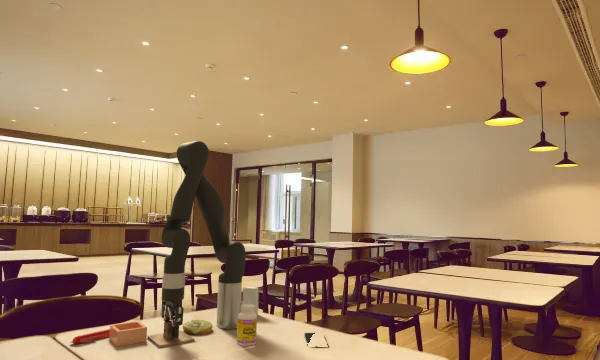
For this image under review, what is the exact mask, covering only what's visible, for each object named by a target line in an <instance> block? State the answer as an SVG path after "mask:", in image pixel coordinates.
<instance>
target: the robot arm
mask: <svg viewBox="0 0 600 360" xmlns="http://www.w3.org/2000/svg"><path fill="white" fill-rule="evenodd" d="M209 150H210V149H209V148H208V145H207V144H206V143H205V142H204V141H201V140H195V141H188V142H184V143H181V144H180V145H179V146H178V147H177V149H176V159H177V161H178V163H179V166H180V167H181V169H182V171H183V173H184V178H183V180H182V182H181V184H180V185H179V187H178V189H177V190H176V192H175V195H174V198H173V201H172V205H171V210H170V215H169V216H168V219H167V221H166V223H165V225H164V228H163V229H162V232H161V237H160V238H161V243H162V245H163V246H164V247H166V248H167V249H172V250H171V253H170V255H167V256H166V257H165V258H164V261H163V275H162V280H161V282H162V284H161V300H162V302H161V318H162V320H163V322H170V321H172V338H176V337H178V336H179V331H180V326H183V324H184V306H180V304H181V303H180V302H181V301H182V300H184V299H185V287H186V285H185V284H186V275H185V273H186V272H185V271H186V270H185V269H186V259H187V256H188V253H189V249H190V246H191V235H190V232H189V231H188V230H187V229H185V228H183V225H184V224H185V223H189V222H190V220H191V217H192V212H193V207H194V203H195V200H196V204H197V206H198V208H199V211H200V214H201V216H202V218H203V220H204V223H205V226H206V228H207V231H208V233H209V236H210V240H211V244H212V247H213V251H214V254H215V258H216V259H217V261H218V262H220V263H222V264H225V270H224V271H223V272H221V273H220V274H219V275H218V279H217V280H218V283H217V285H218V286H217V303H216V304H217V309H216V327H217V328H220V329H222V330H234V329H237V322H238V314H239V313H240V312H241V311H242V310H241V305H243V300H242V294H243V288H242V287H243V276H244V274H245V269H246V268H245V265H246V257H247V256H246V253H247V252H246V248H245V245H244V244H243V243H242V242H241V241H234V240H231V239H230V237H229V236H228V233H227V230H226V226H225V225H226V222H225V221H226V207H225V205H224V202H223V199H222V196H221V194H220V192H219V191H218V189H217V188H216V187H215V186H214V185H213V183H212V182H211V181H210V180H209V179H208V178H207V176H206V175H205V173H204V172H205V169H206V166H207V163H208V160H209V156H210V151H209Z"/></svg>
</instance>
